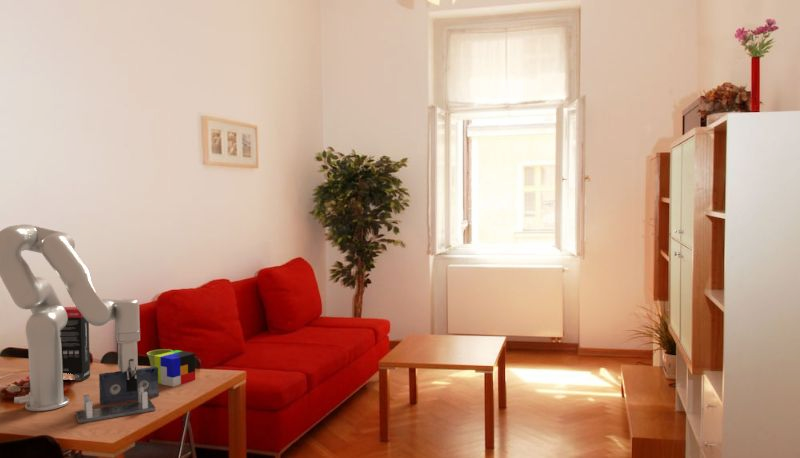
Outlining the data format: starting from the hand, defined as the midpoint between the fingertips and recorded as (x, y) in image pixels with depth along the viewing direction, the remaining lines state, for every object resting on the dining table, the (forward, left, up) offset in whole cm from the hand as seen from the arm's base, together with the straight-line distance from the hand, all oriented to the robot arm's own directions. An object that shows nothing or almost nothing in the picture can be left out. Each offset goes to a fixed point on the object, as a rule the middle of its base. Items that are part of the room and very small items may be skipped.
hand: (129, 387), depth 220 cm
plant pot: (+15, +26, -4) cm, 31 cm away
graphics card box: (-17, +39, -4) cm, 42 cm away
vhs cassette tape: (0, 0, -5) cm, 5 cm away
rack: (-6, -12, -4) cm, 14 cm away
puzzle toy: (+18, +14, -4) cm, 23 cm away
